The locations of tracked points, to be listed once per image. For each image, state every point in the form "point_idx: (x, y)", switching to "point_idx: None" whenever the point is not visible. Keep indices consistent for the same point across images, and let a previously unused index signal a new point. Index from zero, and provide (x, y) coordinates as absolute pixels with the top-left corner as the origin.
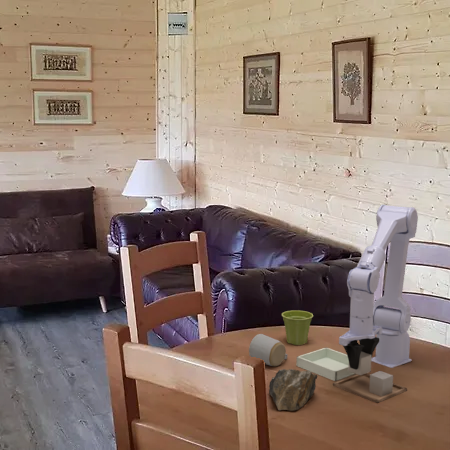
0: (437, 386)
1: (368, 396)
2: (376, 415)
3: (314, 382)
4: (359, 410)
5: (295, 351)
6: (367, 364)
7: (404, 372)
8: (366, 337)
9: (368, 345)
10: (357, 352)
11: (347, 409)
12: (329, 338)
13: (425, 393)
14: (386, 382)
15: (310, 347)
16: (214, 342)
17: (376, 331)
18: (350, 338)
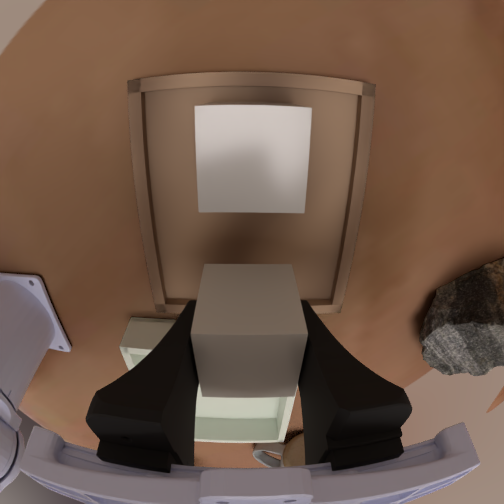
0: (10, 72)
1: (365, 138)
2: (442, 44)
3: (481, 309)
4: (450, 114)
5: (204, 447)
6: (234, 295)
7: (19, 230)
8: (314, 485)
9: (183, 404)
10: (370, 373)
11: (466, 152)
12: (93, 434)
13: (87, 33)
14: (268, 104)
15: None
16: None
17: (95, 484)
18: (445, 472)
